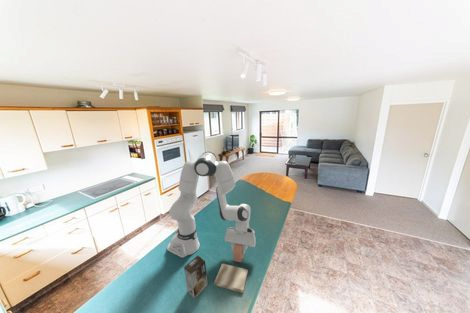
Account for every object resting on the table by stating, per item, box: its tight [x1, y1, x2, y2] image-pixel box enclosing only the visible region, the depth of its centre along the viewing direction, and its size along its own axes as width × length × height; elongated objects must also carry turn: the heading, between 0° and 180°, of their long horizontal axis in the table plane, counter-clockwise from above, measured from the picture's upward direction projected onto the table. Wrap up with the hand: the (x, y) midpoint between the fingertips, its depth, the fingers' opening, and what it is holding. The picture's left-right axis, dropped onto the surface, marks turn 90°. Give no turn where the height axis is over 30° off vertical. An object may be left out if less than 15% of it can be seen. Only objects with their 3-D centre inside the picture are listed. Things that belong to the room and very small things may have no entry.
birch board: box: [213, 263, 249, 294], centre depth 93 cm, size 16×12×2 cm
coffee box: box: [183, 255, 209, 299], centre depth 87 cm, size 9×6×16 cm
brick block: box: [232, 243, 244, 263], centre depth 105 cm, size 5×5×9 cm
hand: (238, 252), depth 104 cm, fingers open, 5 cm apart
